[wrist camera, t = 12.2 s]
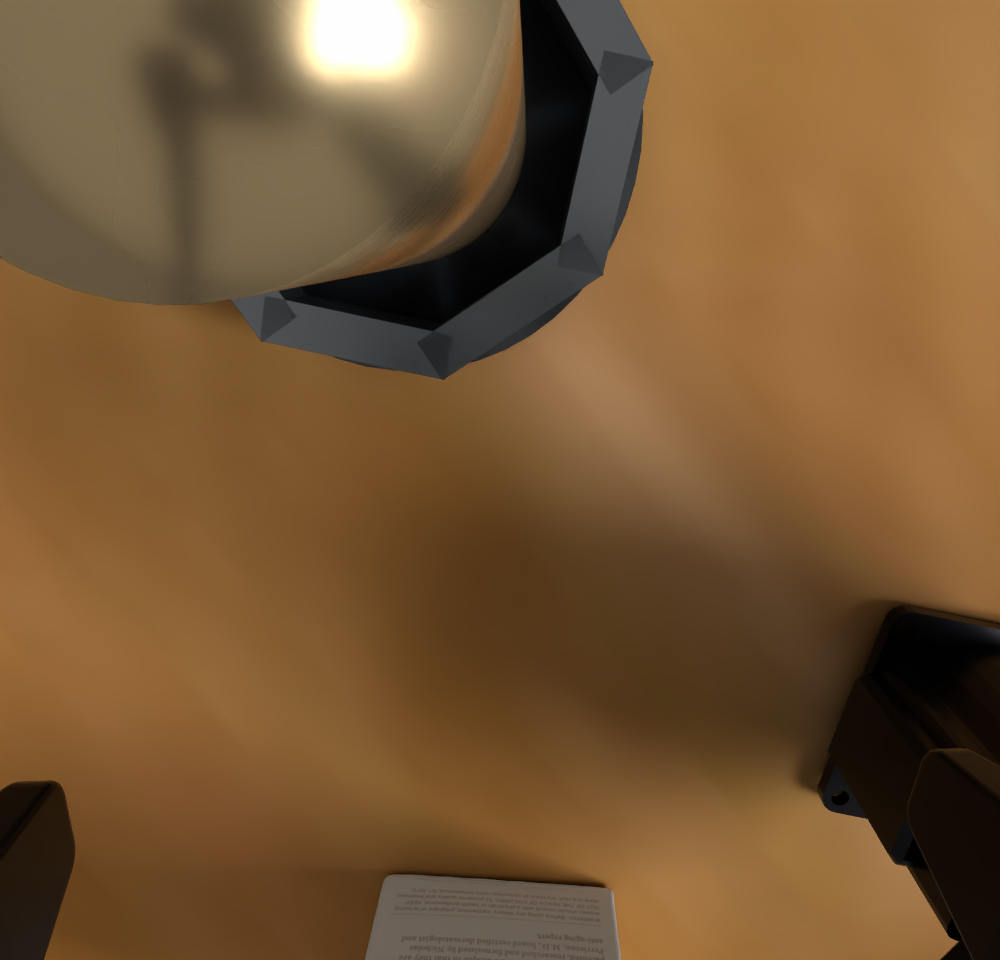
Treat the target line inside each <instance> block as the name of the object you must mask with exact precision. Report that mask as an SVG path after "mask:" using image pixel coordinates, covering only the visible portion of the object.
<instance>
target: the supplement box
mask: <svg viewBox="0 0 1000 960" xmlns="http://www.w3.org/2000/svg"><path fill="white" fill-rule="evenodd" d="M365 960H621V955H620V947H619V939H618V932H617V923H616V914H615V906H614V893H613V891H612V890H611V889H609V888H600V887H588V886H576V885H561V884H545V883H532V882H519V881H502V880H492V879H474V878H457V877H440V876H427V875H411V874H409V875H400V874H395V875H389V876H387V877H386V878H385V879H384V881H383V885H382V889H381V893H380V897H379V901H378V906H377V910H376V914H375V918H374V922H373V927H372V931H371V935H370V940H369V944H368V948H367V952H366V957H365Z"/></svg>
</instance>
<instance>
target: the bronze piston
mask: <svg viewBox="0 0 1000 960" xmlns="http://www.w3.org/2000/svg"><path fill="white" fill-rule="evenodd" d="M525 151H526V111H525V92H524V73H523V54H522V35H521V16H520V0H0V258H1V259H3V260H5V261H7V262H9V263H11V264H13V265H14V266H16V267H18V268H20V269H22V270H24V271H26V272H28V273H30V274H32V275H35V276H38V277H40V278H43V279H46V280H48V281H51V282H54V283H56V284H59V285H62V286H64V287H67V288H69V289H72V290H76V291H80V292H84V293H88V294H92V295H96V296H101V297H105V298H109V299H113V300H118V301H127V302H136V303H145V304H155V305H184V304H207V303H213V302H219V301H225V300H231V299H237V298H243V297H248V296H254V295H259V294H264V293H269V292H274V291H280V290H285V289H290V288H295V287H301V286H306V285H311V284H316V283H321V282H327V281H332V280H337V279H342V278H347V277H353V276H358V275H363V274H368V273H374V272H379V271H384V270H389V269H394V268H400V267H405V266H410V265H415V264H421V263H426V262H431V261H436V260H439V259H442V258H445V257H448V256H451V255H453V254H455V253H457V252H459V251H461V250H463V249H465V248H467V247H468V246H470V245H471V244H473V243H474V242H476V241H477V240H478V239H479V238H480V237H482V236H483V235H484V234H485V233H486V232H487V231H488V230H489V229H490V228H491V227H492V226H493V225H494V224H495V223H496V221H497V220H498V219H499V218H500V216H501V215H502V213H503V212H504V210H505V209H506V208H507V206H508V204H509V202H510V200H511V198H512V196H513V194H514V192H515V190H516V187H517V185H518V182H519V179H520V176H521V173H522V168H523V164H524V160H525Z"/></svg>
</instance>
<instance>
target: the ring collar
mask: <svg viewBox="0 0 1000 960" xmlns="http://www.w3.org/2000/svg"><path fill="white" fill-rule="evenodd" d="M520 16H521V35H522V54H523V73H524V92H525V111H526V151H525V160H524V164H523V168H522V173H521V176H520V179H519V182H518V185H517V187H516V190H515V192H514V194H513V196H512V198H511V200H510V202H509V204H508V206H507V208H506V209H505V210H504V212H503V213H502V215H501V216H500V218H499V219H498V220H497V221H496V223H495V224H494V225H493V226H492V227H491V228H490V229H489V230H488V231H487V232H486V233H485V234H484V235H483V236H482V237H480V238H479V239H478V240H477V241H476V242H474V243H473V244H471V245H470V246H468V247H467V248H465V249H463V250H461V251H459V252H457V253H455V254H453V255H451V256H448V257H445V258H442V259H439V260H436V261H431V262H426V263H421V264H415V265H410V266H405V267H400V268H394V269H389V270H384V271H379V272H374V273H368V274H363V275H358V276H353V277H347V278H342V279H337V280H332V281H327V282H321V283H316V284H311V285H306V286H301V287H295V288H290V289H285V290H280V291H274V292H269V293H264V294H259V295H254V296H248V297H243V298H237V299H231V300H232V302H233V303H234V304H235V306H236V307H237V309H238V310H239V311H240V313H241V314H242V315H243V317H244V318H245V320H246V321H247V322H248V324H249V325H250V326H251V328H252V329H253V330H254V332H255V333H256V335H257V336H258V337H259V339H260V341H262V342H268V343H273V344H278V345H283V346H287V347H292V348H297V349H301V350H306V351H311V352H316V353H320V354H325V355H330V356H333V357H335V358H338V359H341V360H345V361H349V362H352V363H356V364H359V365H363V366H367V367H374V368H381V369H388V370H401V371H405V372H410V373H415V374H419V375H424V376H429V377H434V378H438V379H442V380H445V379H446V378H447V377H448V376H450V375H451V374H453V373H454V372H456V371H457V370H459V369H460V368H462V367H463V366H465V365H466V364H468V363H470V362H474V361H478V360H481V359H483V358H486V357H488V356H491V355H493V354H496V353H498V352H500V351H503V350H505V349H507V348H509V347H511V346H513V345H514V344H516V343H518V342H520V341H521V340H523V339H525V338H527V337H528V336H530V335H532V334H533V333H534V332H536V331H537V330H538V329H540V328H541V327H542V326H544V325H545V324H546V323H548V322H549V321H550V320H552V319H553V318H554V317H555V316H556V315H557V314H558V313H560V312H561V311H562V310H563V309H564V308H565V307H566V306H567V305H568V304H569V303H570V302H571V301H572V300H573V299H574V298H575V297H576V296H577V295H578V293H579V292H580V291H581V290H582V288H583V287H585V286H586V285H588V284H589V283H591V282H592V281H594V280H595V279H597V278H598V277H600V276H602V275H603V270H604V266H605V262H606V258H607V254H608V250H609V249H610V247H611V245H612V244H613V241H614V239H615V237H616V235H617V232H618V230H619V228H620V226H621V223H622V221H623V219H624V217H625V214H626V211H627V208H628V205H629V201H630V198H631V195H632V192H633V188H634V185H635V181H636V175H637V169H638V164H639V158H640V153H641V141H642V124H643V108H642V107H643V103H644V99H645V95H646V90H647V86H648V82H649V78H650V74H651V69H652V66H653V65H654V64H653V61H652V60H651V58H650V56H649V55H648V53H647V51H646V49H645V47H644V45H643V43H642V42H641V40H640V38H639V36H638V34H637V32H636V31H635V29H634V27H633V25H632V23H631V21H630V20H629V18H628V16H627V14H626V12H625V10H624V9H623V7H622V5H621V3H620V1H619V0H520Z"/></svg>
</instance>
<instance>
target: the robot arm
mask: <svg viewBox="0 0 1000 960" xmlns="http://www.w3.org/2000/svg"><path fill="white" fill-rule="evenodd" d="M906 621H912V625H911V626H910V627H909V628H908V629H906V630H902V631H900V627H901V625H902V624H903V623H905V622H906ZM829 754H830V757H829V760H828V762H827V765H826V767H825V770H824V772H823V775H822V777H821V780H820V782H819V785H818V794H819V797H820V799H821V800H822V802H823V804H824V806H825V807H826V808H827V809H828V810H830V811H833V812H836V813H841V814H846V815H851V816H856V817H861V818H866V819H868V820H869V822H870V824H871V826H872V827H873V829H874V831H875V832H876V834H877V836H878V838H879V839H880V841H881V843H882V844H883V846H884V848H885V849H886V851H887V853H888V854H889V856H890V858H891V859H892V861H893V862H894V863H895V864H897V865H902V866H907V868H908V870H909V871H910V873H911V874H912V876H913V878H914V879H915V881H916V883H917V884H918V886H919V888H920V889H921V891H922V893H923V894H924V896H925V898H926V899H927V901H928V903H929V904H930V906H931V908H932V909H933V911H934V913H935V914H936V916H937V918H938V919H939V921H940V923H941V924H942V926H943V927H944V929H945V931H946V932H947V934H948V936H949V937H950V938H952V939H954V940H957V941H959V942H957V943H956V944H955V945H954V946H953V947H952V948H951V949H950V950H949V951H948V952H947V953H946V954H945V955H944V956H943V957H942V958H941V959H940V960H1000V624H995V623H990V622H985V621H980V620H976V619H971V618H966V617H961V616H956V615H952V614H947V613H942V612H937V611H932V610H928V609H923V608H918V607H913V606H899V607H896V608H894V609H892V610H891V611H890V612H888V614H887V616H886V617H885V619H884V621H883V624H882V626H881V629H880V631H879V634H878V636H877V639H876V641H875V644H874V646H873V649H872V651H871V654H870V657H869V659H868V662H867V664H866V667H865V669H864V672H863V673H862V674H861V675H860V676H859V677H858V678H857V679H856V681H855V683H854V686H853V688H852V691H851V693H850V696H849V698H848V701H847V703H846V706H845V708H844V711H843V713H842V716H841V718H840V721H839V724H838V726H837V729H836V731H835V734H834V736H833V739H832V741H831V744H830V746H829ZM837 791H843V792H842V793H841V794H839V795H837V796H832V795H833V794H834V793H835V792H837ZM74 858H75V841H74V836H73V831H72V826H71V822H70V817H69V812H68V807H67V802H66V798H65V793H64V790H63V788H62V786H61V785H60V784H59V783H58V782H55V781H51V780H50V781H23V782H16V783H12V784H10V785H8V786H6V787H5V788H3V789H2V790H1V791H0V960H44V958H45V955H46V952H47V948H48V945H49V942H50V939H51V936H52V933H53V929H54V926H55V923H56V920H57V917H58V913H59V910H60V907H61V904H62V901H63V898H64V894H65V891H66V888H67V885H68V882H69V878H70V875H71V872H72V868H73V864H74Z"/></svg>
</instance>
